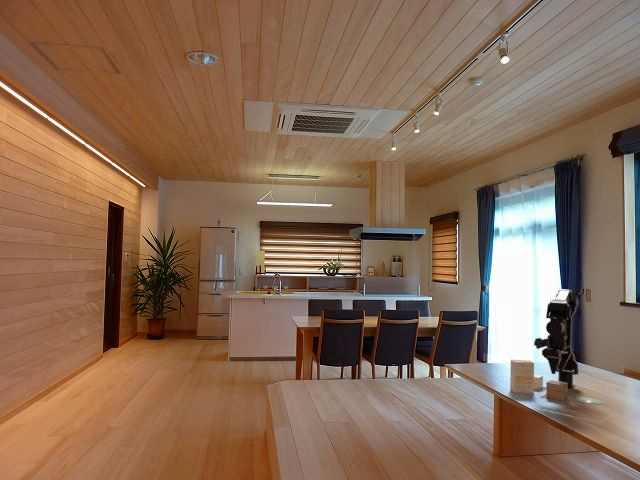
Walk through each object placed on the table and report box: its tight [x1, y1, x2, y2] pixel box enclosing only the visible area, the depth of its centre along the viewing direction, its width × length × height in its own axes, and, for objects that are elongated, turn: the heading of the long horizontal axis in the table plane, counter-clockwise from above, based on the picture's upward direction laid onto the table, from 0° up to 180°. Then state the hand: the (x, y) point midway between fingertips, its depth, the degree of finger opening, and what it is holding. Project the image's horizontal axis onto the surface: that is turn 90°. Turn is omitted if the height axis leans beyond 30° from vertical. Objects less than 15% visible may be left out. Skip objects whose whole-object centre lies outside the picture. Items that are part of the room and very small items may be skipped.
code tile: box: [539, 393, 575, 404], centre depth 193 cm, size 10×10×1 cm
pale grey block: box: [534, 373, 544, 391], centre depth 208 cm, size 5×5×5 cm
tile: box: [534, 386, 546, 392], centre depth 208 cm, size 9×9×1 cm
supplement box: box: [509, 359, 535, 395], centre depth 201 cm, size 8×5×13 cm, turn 84°
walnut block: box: [545, 379, 568, 401], centre depth 193 cm, size 6×6×6 cm
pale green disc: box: [575, 397, 606, 406], centre depth 190 cm, size 10×10×1 cm
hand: (557, 372), depth 193 cm, fingers open, 9 cm apart
